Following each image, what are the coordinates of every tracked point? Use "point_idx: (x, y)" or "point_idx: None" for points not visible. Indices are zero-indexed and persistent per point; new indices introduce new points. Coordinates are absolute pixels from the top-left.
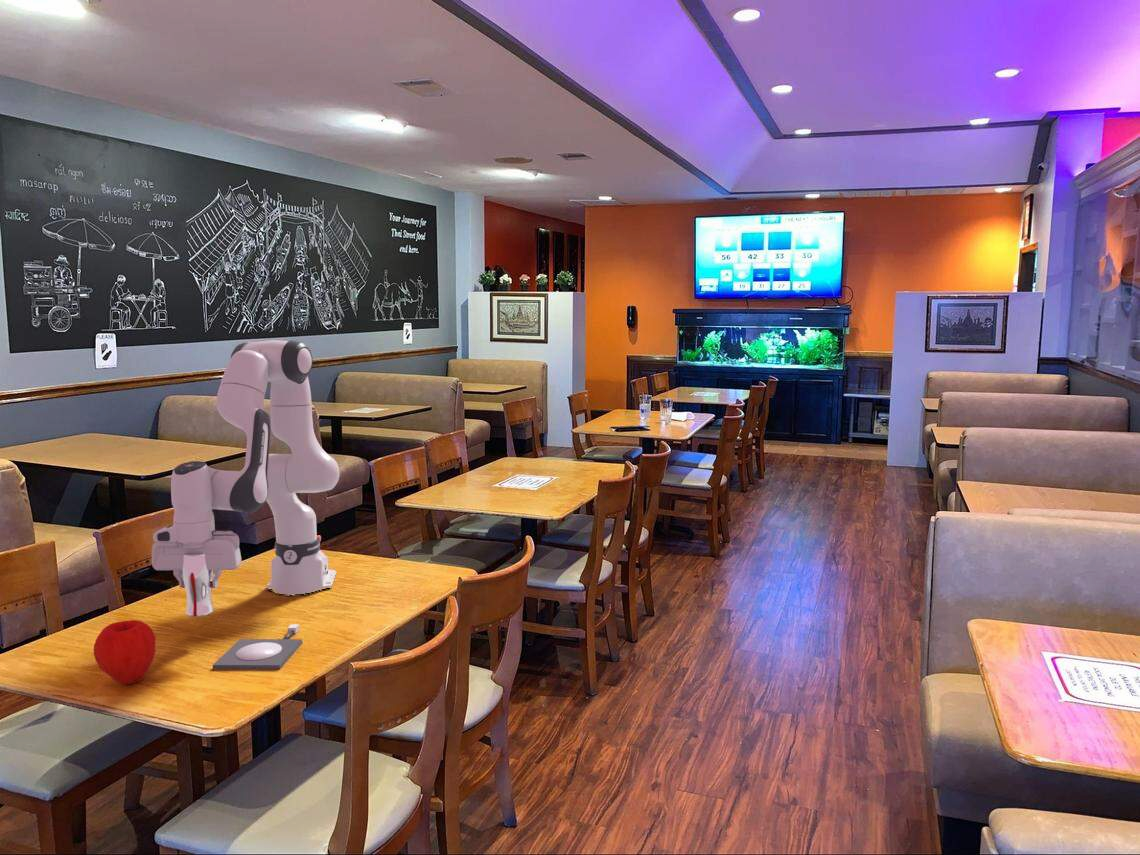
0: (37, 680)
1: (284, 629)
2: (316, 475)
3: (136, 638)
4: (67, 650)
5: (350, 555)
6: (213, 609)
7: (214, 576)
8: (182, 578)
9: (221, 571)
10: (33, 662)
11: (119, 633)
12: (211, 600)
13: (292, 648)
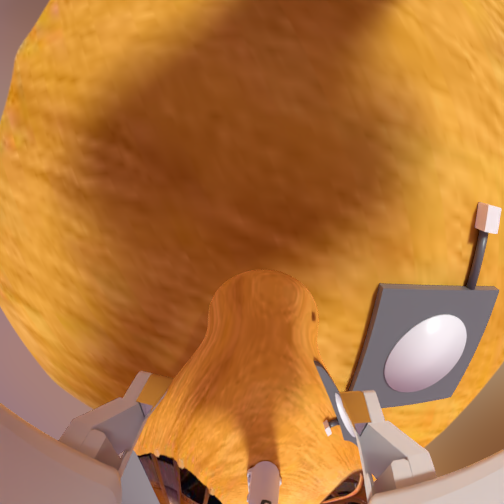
0: (77, 389)
1: (464, 190)
2: None
3: None
4: (26, 286)
5: None
6: (318, 314)
7: (373, 474)
8: (136, 423)
9: (424, 462)
10: (26, 326)
11: None
12: (316, 336)
13: (480, 336)
